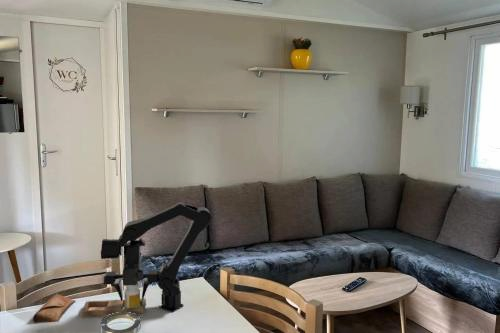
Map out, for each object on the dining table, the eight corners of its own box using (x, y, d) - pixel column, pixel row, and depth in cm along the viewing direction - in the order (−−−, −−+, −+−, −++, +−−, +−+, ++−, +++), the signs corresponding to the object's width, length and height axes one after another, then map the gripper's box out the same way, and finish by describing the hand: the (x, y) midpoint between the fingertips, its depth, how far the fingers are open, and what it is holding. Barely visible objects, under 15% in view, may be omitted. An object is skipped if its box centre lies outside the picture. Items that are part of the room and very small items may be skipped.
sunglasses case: (59, 322, 146) (48, 305, 146) (40, 332, 147) (29, 316, 146) (77, 300, 164) (67, 285, 164) (60, 309, 164) (50, 294, 164)
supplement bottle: (143, 307, 159) (142, 281, 158) (134, 313, 154) (134, 287, 153) (130, 305, 161) (130, 279, 160) (121, 311, 156) (121, 284, 155)
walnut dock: (145, 303, 163) (145, 298, 162) (144, 314, 154) (144, 308, 154) (86, 306, 159) (86, 301, 159) (81, 317, 150) (81, 312, 150)
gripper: (100, 266, 146) (101, 311, 148) (158, 264, 149) (158, 308, 151) (105, 255, 157) (106, 297, 159) (159, 254, 160) (159, 295, 162)
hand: (132, 300), depth 157 cm, fingers open, 7 cm apart
